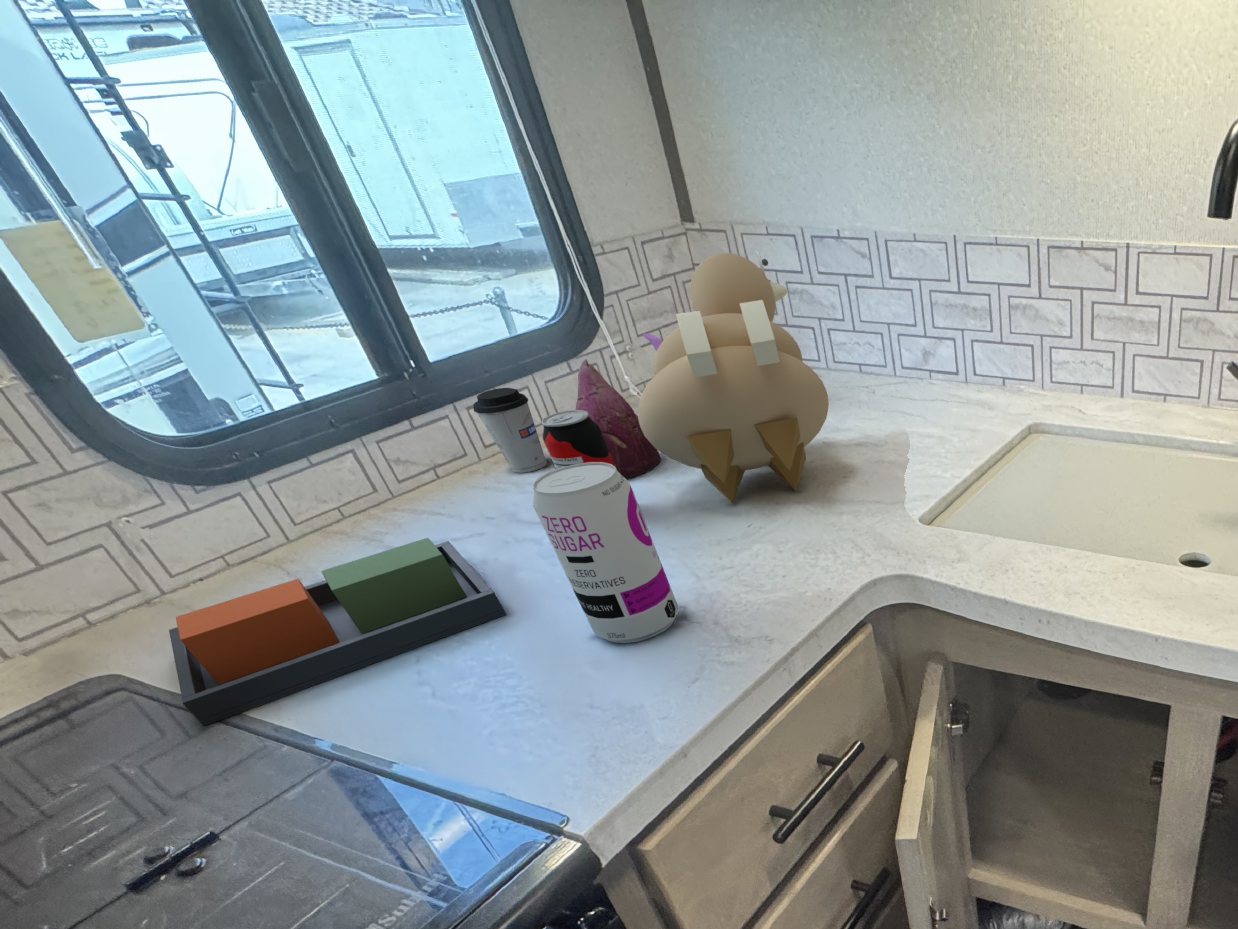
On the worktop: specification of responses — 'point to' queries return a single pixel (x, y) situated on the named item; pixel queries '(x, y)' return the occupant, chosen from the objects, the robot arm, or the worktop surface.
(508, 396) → the coffee cup
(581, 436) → the beverage can
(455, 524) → the worktop surface
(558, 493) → the supplement can
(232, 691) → the backing tray
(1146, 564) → the worktop surface
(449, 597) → the green block
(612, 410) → the vegetable
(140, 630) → the worktop surface
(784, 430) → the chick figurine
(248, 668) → the orange block
